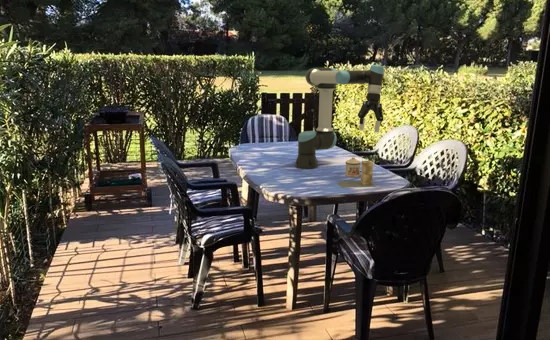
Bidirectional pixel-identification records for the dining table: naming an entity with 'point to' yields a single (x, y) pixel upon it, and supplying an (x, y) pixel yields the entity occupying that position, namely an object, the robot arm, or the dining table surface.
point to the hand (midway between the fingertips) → (369, 131)
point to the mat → (353, 184)
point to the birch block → (366, 172)
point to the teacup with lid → (353, 168)
